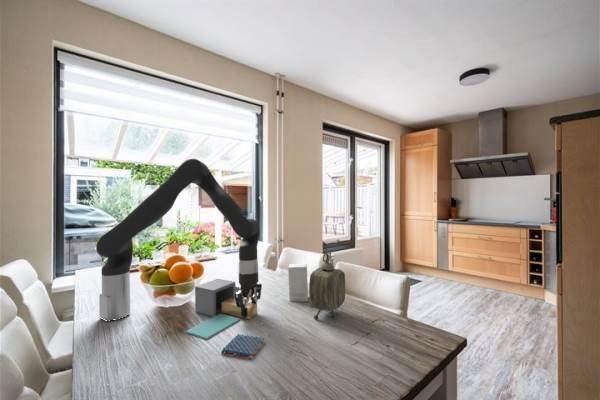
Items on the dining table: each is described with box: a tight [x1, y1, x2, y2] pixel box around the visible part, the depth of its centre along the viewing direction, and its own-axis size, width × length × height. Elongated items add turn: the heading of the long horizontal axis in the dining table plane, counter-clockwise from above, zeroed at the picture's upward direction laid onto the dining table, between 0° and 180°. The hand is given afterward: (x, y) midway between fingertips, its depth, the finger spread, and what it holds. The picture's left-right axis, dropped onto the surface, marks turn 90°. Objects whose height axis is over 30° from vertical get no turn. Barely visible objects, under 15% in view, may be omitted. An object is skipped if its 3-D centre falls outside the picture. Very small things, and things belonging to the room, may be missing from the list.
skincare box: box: [287, 263, 309, 302], centre depth 122 cm, size 8×7×16 cm
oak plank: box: [221, 298, 258, 320], centre depth 107 cm, size 5×14×4 cm, turn 61°
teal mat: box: [185, 313, 241, 340], centre depth 97 cm, size 16×10×1 cm, turn 151°
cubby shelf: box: [194, 278, 236, 317], centre depth 113 cm, size 12×10×10 cm
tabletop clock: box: [308, 250, 346, 320], centre depth 104 cm, size 14×9×25 cm, turn 149°
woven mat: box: [220, 333, 266, 360], centre depth 82 cm, size 10×11×2 cm
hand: (249, 314), depth 104 cm, fingers closed on oak plank, 5 cm apart
